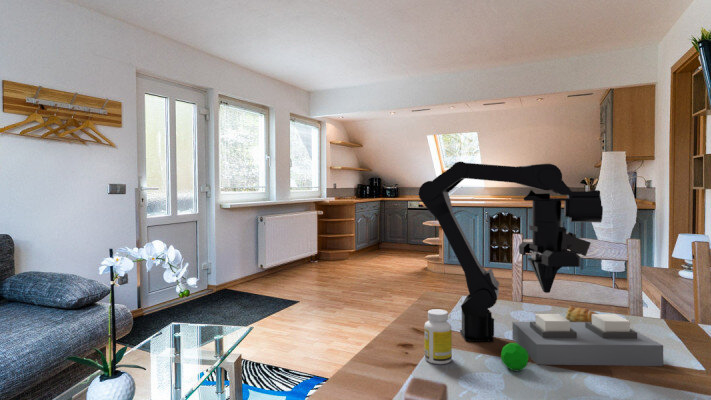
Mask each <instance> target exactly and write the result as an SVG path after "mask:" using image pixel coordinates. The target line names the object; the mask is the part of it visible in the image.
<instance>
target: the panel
mask: <svg viewBox="0 0 711 400" xmlns="http://www.w3.org/2000/svg"><path fill="white" fill-rule="evenodd" d="M511 326H512V340H513V341H514V343H517V344H519V345H520V346H521V347H523V348H524V349H525V350H527V353H528V355H529V358H530V359H531V360H532V361H533V362H534V363H535V365H537V364H540V365H543V366H544V365H545V366H546V365H549V366H555V365H556V366H560V365H561V366H625V367H626V366H627V367H628V366H630V367H631V366H633V367H634V366H636V367H638V366H639V367H641V366H643V367H649V366H651V367H664V345H663V344H661V343H659V342H658V341H655V340H654V339H652V338H650V337H648V336H646V335H644V334H642V333H640V332H638V331H636V330H634V329H633V328H631V327H630V332H604V331H602V330H601V329H599V328H597V327H596V326H594V325H592V322H570V331H544V330H542V329H541V328H540V327H539V326H537V325H536V321H512V325H511Z"/></svg>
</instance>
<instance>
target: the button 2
mask: <svg viewBox="0 0 711 400" xmlns="http://www.w3.org/2000/svg"><path fill="white" fill-rule="evenodd" d="M592 325H594V326H596V327H597V328H599V329H601V330H602V331H604V332H630V328H631V321H629V320H628V319H626V318H624V317H621V316H620V315H618V314H616V313H600V314H599V313H597V314H592Z"/></svg>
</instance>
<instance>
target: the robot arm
mask: <svg viewBox="0 0 711 400" xmlns="http://www.w3.org/2000/svg"><path fill="white" fill-rule="evenodd" d="M465 179H467V180H469V179H470V180H480V181H491V182H492V181H493V182H503V183H512V184H513V183H514V184H518V185H521V186H526V187H529V188H533V189H537V190H541V191H544V193H542V192H541V193H540V192H539V193H535V192H534V190H532V189H530V191H529V192H528V194H527V195H526V196H524V197H523V200H524V201H527V202H528V201H529V202H530V201H531V202H532V224H531V225H529V226H528V227H529V230H530V231H532V236H531V237H532V240H531V241H522V242H521V243H520V244H519V245H518V253H519V254H520V255H522V256H524V255H526V254H531V256H530V257H531V258H530V257H528V258H527V261H528V262H529V264H530V266H531V268H532V270H533V272H534V274H535V277H536V279H537V281H538V283H539V285H540V287H541V289H542V292H543V293H546V294H549V293H550V292H551V289H552V288H553V284H554V281H555V278H556V276H557V273H558V271H559V270H560V269H561V268H563V267H564V268H565V267H566V268H567V267H568V268H569V267H570V268H580V267H581V256H584V257H586V256H587V254H588V251H589V248H590V247H591V243H592V242H591V241H587V240H585V239H582V238H580V237H577V234H576V233H574V232H573V233H572V232H570V231H567V228H566V227H565V226H562V201H563V202H564V206H563V212H564V218H569V222H571V223H602V222H603V221H602V220H603V216H604V215H603V211H604V208H603V205H602V199H601V191H600V190H599V189H596V190H595V189H593V190H588V191H587V190H586V191H584V190H583V191H580V190H579V191H572V190H571V188H570V186H568V185H567V184H566V183H565V182H564V180H563V173H562V170H561V169H560V168H559V167H558V166H557V165H555V164H552V163H539V164H529V165H521V166H520V165H519V166H513V165H512V166H509V165H501V164H500V165H497V164H486V163H485V164H484V163H473V162H472V163H471V162H464V161H456V162H454V163H453V165H452V166H450V167H449V168H448V169H447V170H445V171H443V173H441V174H439V175H438V176H436V177H435V178H434V179H433V180H427V181H424V183H422V184H421V185H420V187H419V190H418V197H419V199H420V201H421V202H422V204H423V205H424V206H425V208H426V209H427V210H428V211H429V212H430V213H431V214H432V216H433V217H434V218H435V219H436V220H437V222H438V224H439V225H440V228H441V230H442V232H443V234H444V235H445V237H446V239H447V241H448V244H449V245H450V247H451V249H452V251H453V253H454V255H455V257H456V259H457V261H458V263H459V265H460V267H461V268H462V271H463V273H464V277H465V281H466V287H467V289H468V290H467V291H468V293H469V294H468V295H467V296H466V297H465V299H464V300H463V302H462V304H461V305H460V308H461V329H460V330H459V333H460V335H461V336H462V337H463V339H464V341H465V342H494V341H495V338H494V336H495V319H494V318H493V315H492V313H493V312H491V310H490V309H491V308H493V307H494V306H495V305H496V304H497V301H498V298H499V293H500V289H499V286H500V284H501V283H500V282H499V281H498V280H497V279H496V276H495V274H494V271H493V268H489V269H488V270H486V269H485V268H484V267H483V266H482V264H481V263H480V261H479V260H478V259H479V258H477V256H476V253H475V252H474V250H473V248H472V247H471V246H472V245H470V244H471V243H470V242H469V240H468V238H467V237H466V234H465V233H464V231H463V228H462V227H461V225H460V223H459V221H458V219H457V217H456V216H455V214H454V211H453V207H452V201H451V198H450V195H449V193H450V192H451V191H452V190H453V189H454V188H455V187H457V186H458V185H460V183H461V182H462V181H463V180H465ZM545 191H551V192H554V193H555V194H556V195H559V196H566V197H565V198H564V197H563V198H561V197H560V198H557V197H554V198H553V197H551V194H550V193H548V192H547V193H545ZM580 255H581V256H580Z"/></svg>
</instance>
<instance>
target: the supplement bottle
mask: <svg viewBox="0 0 711 400" xmlns="http://www.w3.org/2000/svg"><path fill="white" fill-rule="evenodd" d="M427 319H428V320H427V321H425V323H424V359H425V360H426V362H429V363H431V364H435V365H445V364H449V363H450V362H451V361H452V357H453V353H452V351H453V350H452V346H453V343H452V335H453V334H452V325H451V323H450V322H449V321H448V319H449V313H448V311H447V310H445V309H439V308H435V309H433V308H432V309H429V310H428V311H427Z"/></svg>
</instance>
